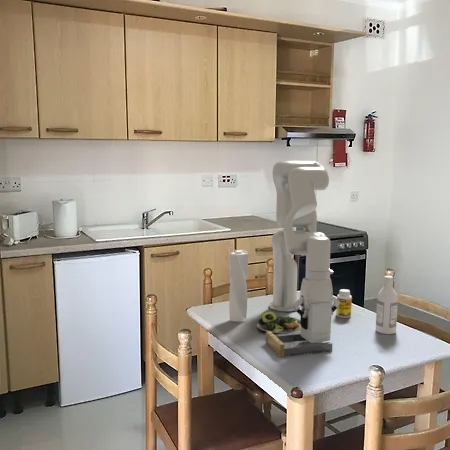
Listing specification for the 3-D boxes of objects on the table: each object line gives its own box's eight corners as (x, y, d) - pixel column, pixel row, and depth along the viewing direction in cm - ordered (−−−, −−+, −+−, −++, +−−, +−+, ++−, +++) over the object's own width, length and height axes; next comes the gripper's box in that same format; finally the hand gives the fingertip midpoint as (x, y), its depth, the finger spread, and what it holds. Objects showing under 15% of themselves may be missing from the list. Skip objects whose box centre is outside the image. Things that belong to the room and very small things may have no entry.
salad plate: (312, 322, 188) (312, 310, 188) (310, 339, 171) (310, 326, 170) (261, 318, 192) (261, 306, 192) (254, 334, 175) (254, 322, 174)
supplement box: (331, 341, 163) (332, 303, 161) (310, 343, 160) (312, 305, 158) (319, 333, 170) (320, 297, 168) (299, 335, 167) (301, 299, 165)
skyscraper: (225, 321, 187) (226, 248, 183) (228, 315, 194) (229, 244, 190) (246, 323, 186) (247, 248, 181) (248, 316, 193) (249, 245, 189)
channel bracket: (265, 342, 167) (266, 331, 166) (315, 337, 172) (315, 326, 171) (279, 357, 155) (280, 344, 155) (332, 351, 160) (332, 339, 160)
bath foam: (396, 329, 180) (399, 275, 177) (395, 335, 174) (399, 279, 171) (376, 327, 182) (378, 273, 180) (374, 333, 176) (377, 278, 173)
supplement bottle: (337, 318, 192) (338, 292, 191) (335, 313, 198) (336, 288, 196) (351, 318, 191) (353, 292, 190) (350, 313, 197) (351, 288, 195)
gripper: (336, 270, 168) (334, 320, 170) (287, 273, 163) (286, 325, 165) (347, 275, 160) (345, 328, 163) (297, 279, 156) (295, 333, 158)
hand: (315, 326), depth 164 cm, fingers closed on supplement box, 7 cm apart
